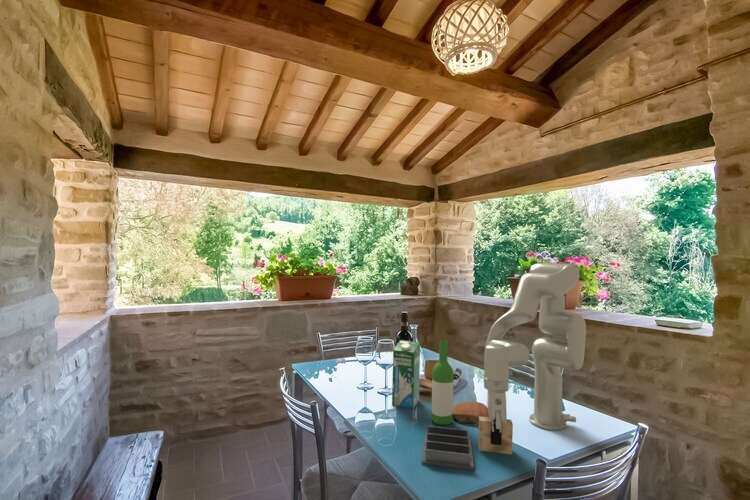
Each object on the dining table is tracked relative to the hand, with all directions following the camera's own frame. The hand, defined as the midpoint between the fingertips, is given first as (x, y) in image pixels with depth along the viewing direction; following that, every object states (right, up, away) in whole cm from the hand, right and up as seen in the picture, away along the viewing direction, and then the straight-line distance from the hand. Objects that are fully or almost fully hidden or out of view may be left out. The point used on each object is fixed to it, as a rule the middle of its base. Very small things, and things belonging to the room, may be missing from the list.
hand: (495, 440), depth 121 cm
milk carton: (-26, -3, +36) cm, 45 cm away
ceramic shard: (-2, -4, +25) cm, 25 cm away
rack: (-16, -3, -2) cm, 16 cm away
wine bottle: (-14, -3, +20) cm, 24 cm away
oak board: (0, -3, 0) cm, 3 cm away
